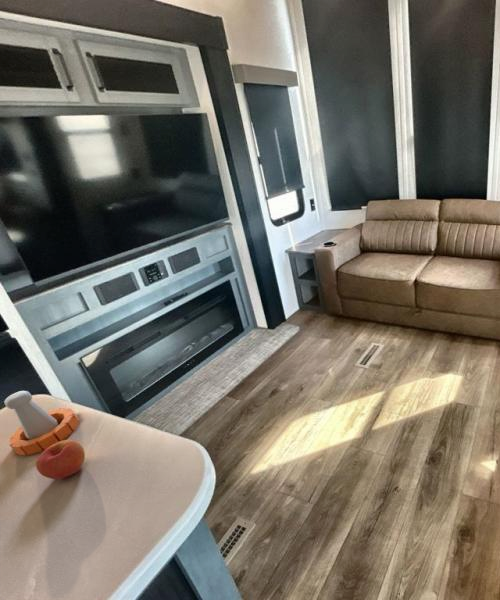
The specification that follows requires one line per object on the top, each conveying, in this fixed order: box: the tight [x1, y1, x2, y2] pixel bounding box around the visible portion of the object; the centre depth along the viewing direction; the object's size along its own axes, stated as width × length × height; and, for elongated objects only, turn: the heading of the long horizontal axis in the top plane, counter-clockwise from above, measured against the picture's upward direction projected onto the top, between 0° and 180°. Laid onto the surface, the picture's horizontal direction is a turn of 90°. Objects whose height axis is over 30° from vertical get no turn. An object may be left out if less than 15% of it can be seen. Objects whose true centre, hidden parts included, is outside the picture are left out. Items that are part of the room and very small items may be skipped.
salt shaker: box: [3, 390, 59, 440], centre depth 85 cm, size 6×6×13 cm
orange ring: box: [8, 407, 80, 456], centre depth 87 cm, size 12×12×3 cm
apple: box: [35, 439, 86, 480], centre depth 75 cm, size 7×7×8 cm
